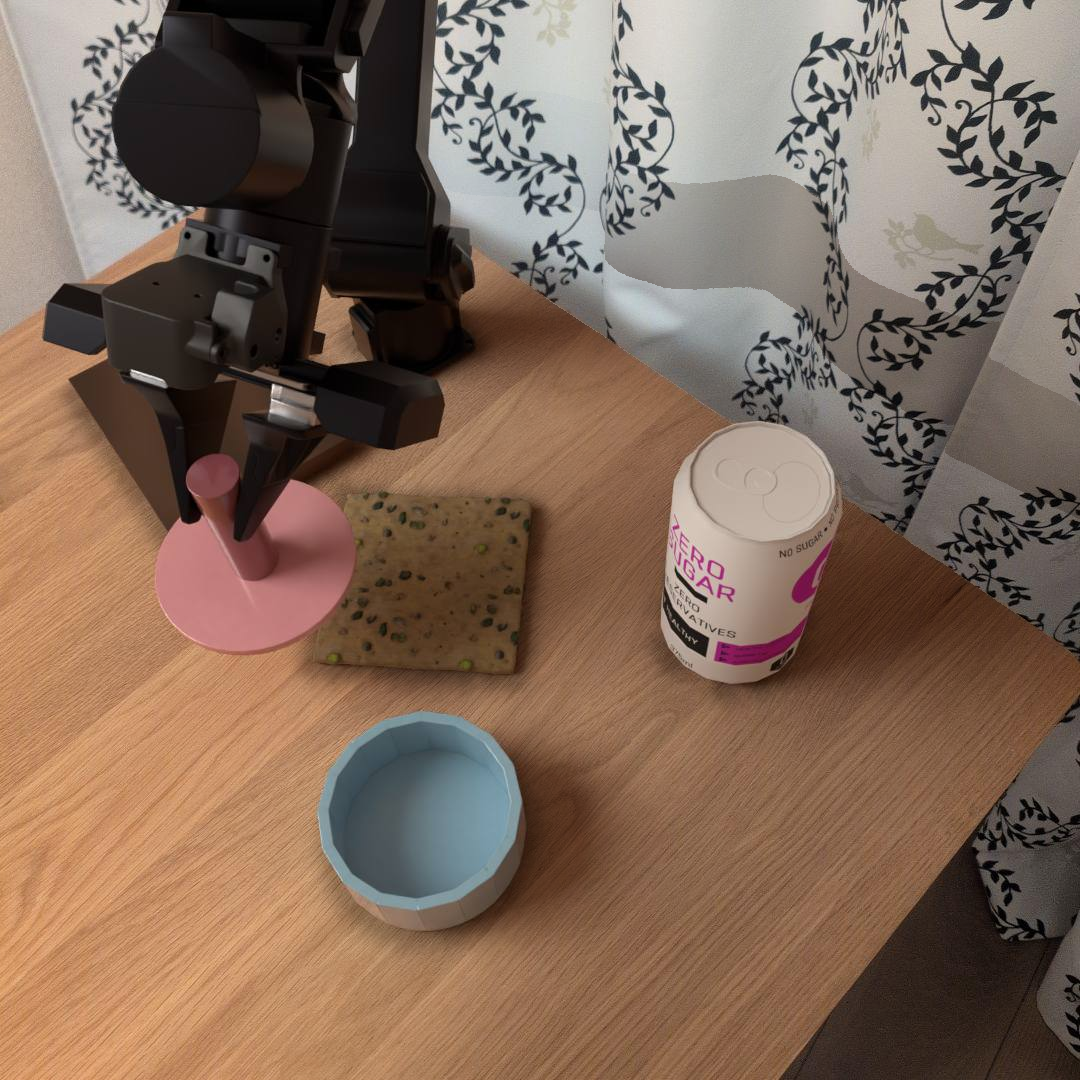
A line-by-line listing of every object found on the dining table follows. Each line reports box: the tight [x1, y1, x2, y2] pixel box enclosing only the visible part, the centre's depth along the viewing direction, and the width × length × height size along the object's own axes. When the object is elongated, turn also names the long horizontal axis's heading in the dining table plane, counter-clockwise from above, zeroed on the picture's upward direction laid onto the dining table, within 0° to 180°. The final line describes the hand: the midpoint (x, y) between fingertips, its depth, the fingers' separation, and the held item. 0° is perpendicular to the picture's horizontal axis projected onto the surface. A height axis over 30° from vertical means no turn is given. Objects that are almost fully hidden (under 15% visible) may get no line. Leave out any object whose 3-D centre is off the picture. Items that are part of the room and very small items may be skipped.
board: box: [67, 358, 357, 534], centre depth 77 cm, size 13×16×2 cm
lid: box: [154, 454, 357, 657], centre depth 59 cm, size 11×11×9 cm
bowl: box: [316, 710, 527, 932], centre depth 60 cm, size 10×10×4 cm
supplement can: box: [660, 420, 843, 685], centre depth 61 cm, size 8×8×15 cm
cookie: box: [312, 491, 533, 675], centre depth 69 cm, size 12×12×1 cm
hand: (215, 531), depth 57 cm, fingers closed on lid, 2 cm apart
